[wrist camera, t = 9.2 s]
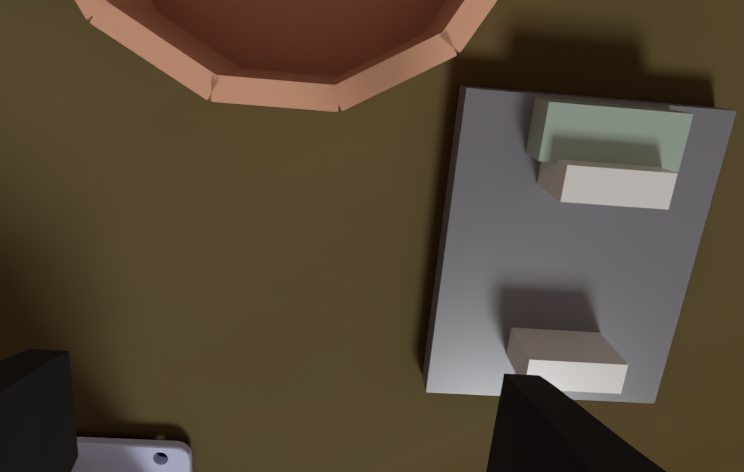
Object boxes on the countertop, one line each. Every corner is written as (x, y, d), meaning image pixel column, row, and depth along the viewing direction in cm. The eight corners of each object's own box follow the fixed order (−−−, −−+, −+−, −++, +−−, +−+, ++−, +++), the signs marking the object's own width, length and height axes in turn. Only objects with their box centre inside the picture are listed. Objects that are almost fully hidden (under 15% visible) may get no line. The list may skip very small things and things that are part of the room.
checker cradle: (422, 375, 20) (434, 430, 18) (459, 85, 17) (482, 94, 14) (640, 386, 21) (686, 441, 18) (715, 107, 18) (785, 120, 15)
